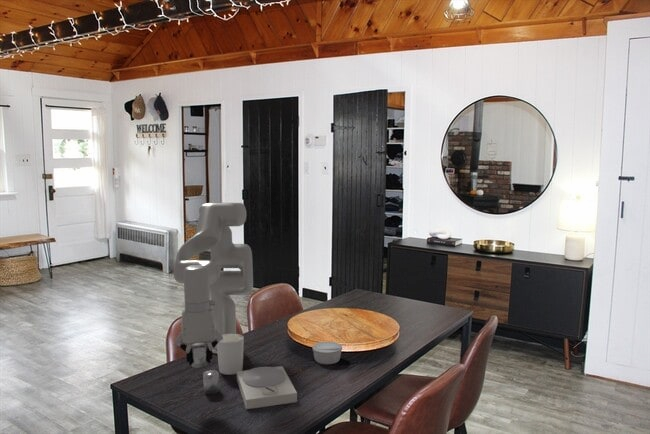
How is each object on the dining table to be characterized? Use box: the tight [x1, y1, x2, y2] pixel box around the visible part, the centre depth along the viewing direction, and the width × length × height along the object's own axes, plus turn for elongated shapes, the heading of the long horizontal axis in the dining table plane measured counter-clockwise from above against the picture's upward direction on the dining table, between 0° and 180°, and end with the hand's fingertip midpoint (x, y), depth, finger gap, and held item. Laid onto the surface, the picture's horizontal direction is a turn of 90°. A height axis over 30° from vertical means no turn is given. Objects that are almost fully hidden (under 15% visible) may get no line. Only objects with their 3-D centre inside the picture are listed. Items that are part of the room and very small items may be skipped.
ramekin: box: [312, 341, 343, 365], centre depth 198 cm, size 11×11×5 cm
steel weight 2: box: [202, 369, 220, 395], centre depth 172 cm, size 5×5×6 cm
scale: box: [236, 365, 298, 410], centre depth 172 cm, size 22×16×4 cm
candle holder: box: [217, 333, 245, 376], centre depth 188 cm, size 10×10×12 cm
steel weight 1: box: [190, 342, 209, 368], centre depth 162 cm, size 5×5×6 cm
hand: (199, 362), depth 163 cm, fingers closed on steel weight 1, 5 cm apart
